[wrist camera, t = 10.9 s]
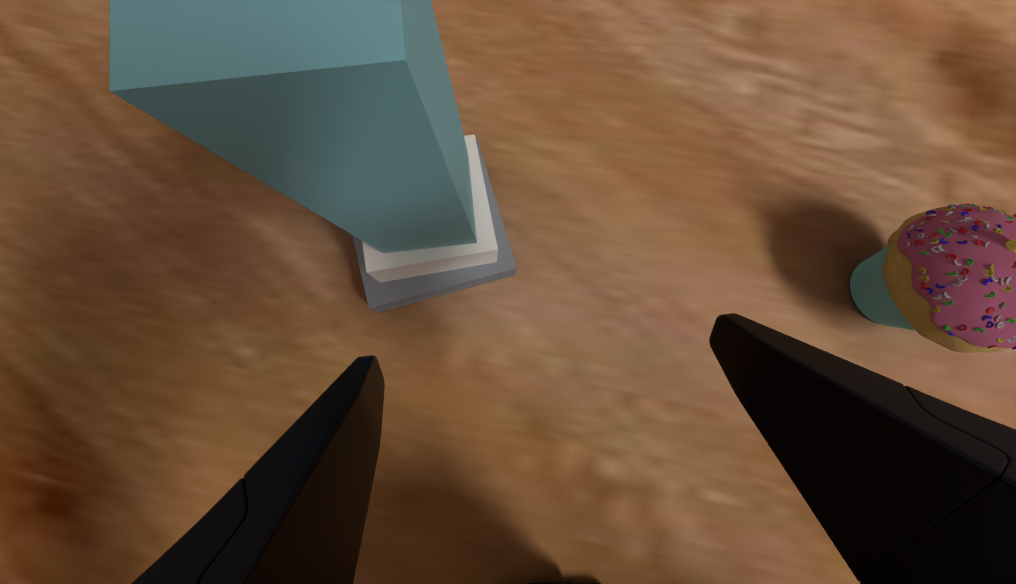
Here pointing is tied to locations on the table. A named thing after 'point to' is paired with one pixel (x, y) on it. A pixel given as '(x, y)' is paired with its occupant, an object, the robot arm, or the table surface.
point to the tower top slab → (449, 256)
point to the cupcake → (946, 278)
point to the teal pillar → (311, 105)
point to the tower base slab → (441, 282)
